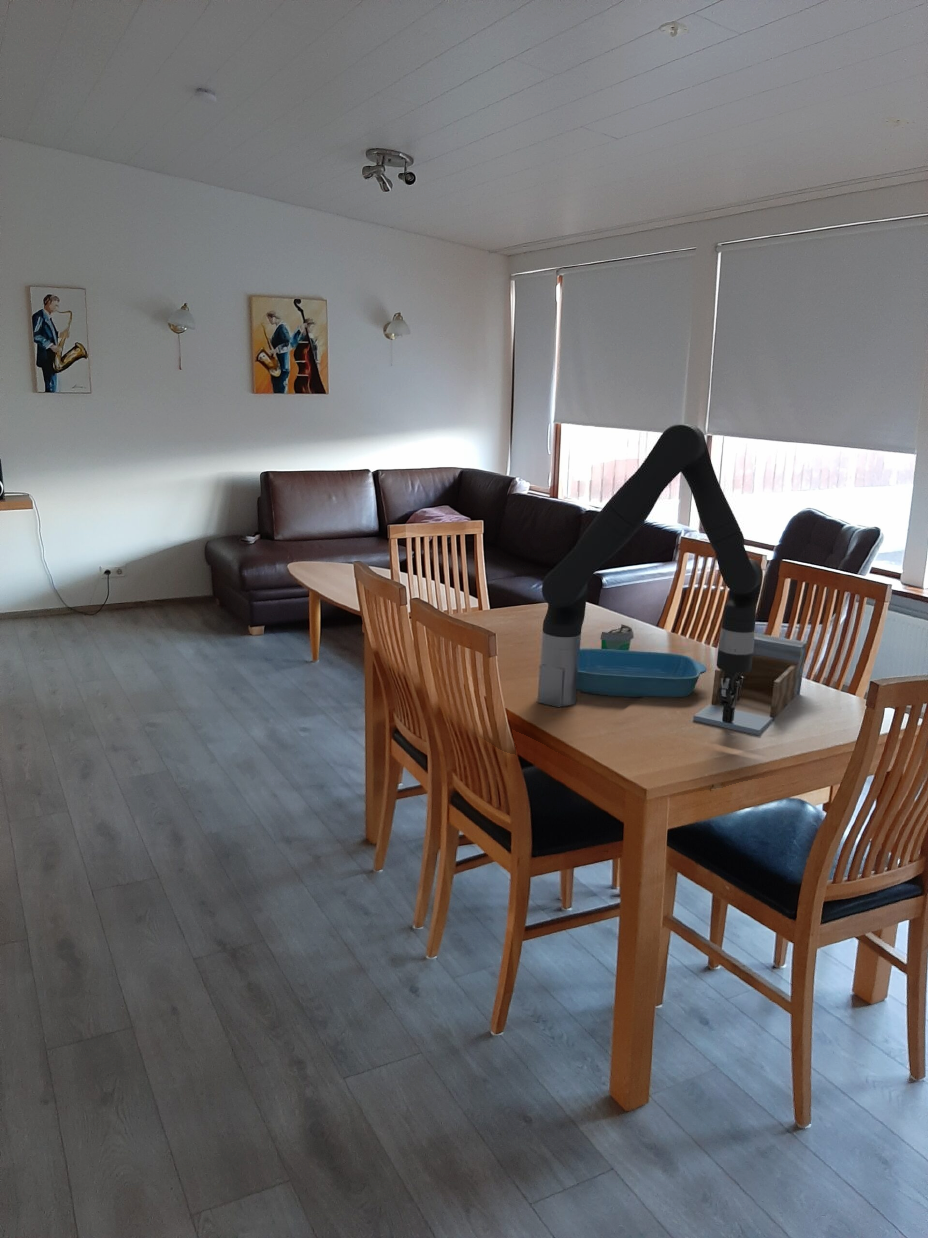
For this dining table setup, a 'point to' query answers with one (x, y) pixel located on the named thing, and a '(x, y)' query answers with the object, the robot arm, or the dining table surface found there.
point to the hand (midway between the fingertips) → (727, 721)
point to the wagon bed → (769, 676)
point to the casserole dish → (637, 673)
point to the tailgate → (740, 722)
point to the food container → (617, 638)
